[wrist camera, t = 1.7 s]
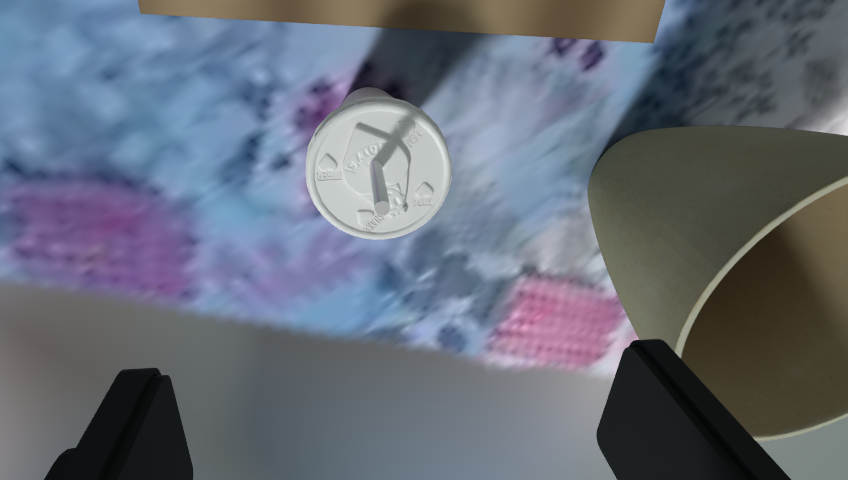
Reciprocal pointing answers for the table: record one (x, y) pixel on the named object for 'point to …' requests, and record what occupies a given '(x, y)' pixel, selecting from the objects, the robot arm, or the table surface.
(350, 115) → the smoothie
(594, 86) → the table surface
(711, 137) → the plant pot
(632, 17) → the threshold bar
